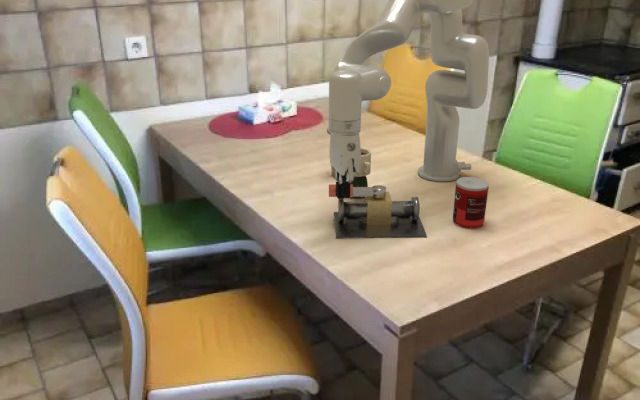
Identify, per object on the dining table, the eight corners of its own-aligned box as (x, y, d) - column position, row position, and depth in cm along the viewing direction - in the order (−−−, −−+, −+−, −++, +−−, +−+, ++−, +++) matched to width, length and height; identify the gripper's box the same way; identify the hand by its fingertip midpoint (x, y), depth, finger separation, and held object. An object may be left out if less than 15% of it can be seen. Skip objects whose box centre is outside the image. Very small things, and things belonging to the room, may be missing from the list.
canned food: (460, 213, 155) (464, 174, 151) (489, 221, 151) (494, 181, 146) (446, 223, 150) (450, 183, 145) (475, 232, 145) (480, 191, 141)
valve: (417, 212, 155) (418, 188, 153) (426, 237, 143) (428, 211, 140) (333, 213, 155) (334, 189, 152) (336, 238, 142) (336, 212, 140)
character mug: (335, 191, 169) (336, 148, 163) (356, 186, 172) (356, 143, 167) (358, 204, 160) (359, 159, 155) (379, 198, 164) (380, 154, 158)
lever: (385, 192, 149) (385, 183, 148) (386, 198, 146) (386, 189, 145) (328, 192, 150) (328, 183, 149) (328, 198, 146) (328, 189, 145)
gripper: (371, 132, 132) (368, 207, 139) (348, 115, 145) (346, 184, 152) (340, 135, 130) (338, 211, 137) (319, 117, 143) (319, 187, 150)
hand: (342, 197), depth 145 cm, fingers closed
